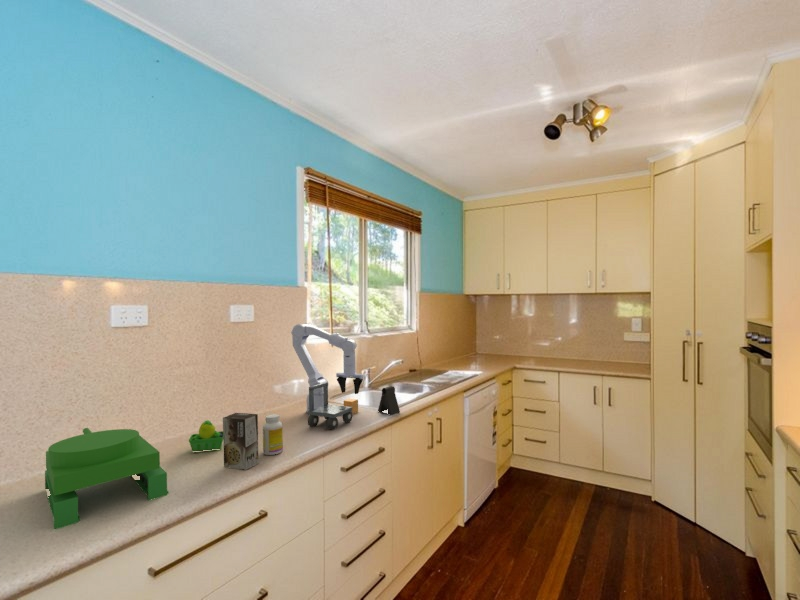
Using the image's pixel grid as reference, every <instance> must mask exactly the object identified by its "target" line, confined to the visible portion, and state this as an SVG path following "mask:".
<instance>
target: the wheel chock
mask: <svg viewBox="0 0 800 600" xmlns="http://www.w3.org/2000/svg"><path fill="white" fill-rule="evenodd" d="M343 406H348V407H352V411H351V412H352V415H354V414H356V413H359V399H355V398H347V399H345V400H343Z"/></svg>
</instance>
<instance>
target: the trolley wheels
mask: <svg viewBox="0 0 800 600" xmlns="http://www.w3.org/2000/svg"><path fill="white" fill-rule="evenodd" d="M353 415H354V414H352V412H351V411H350V412H348V413H346V414H343V415H341V417H342V418H341V419H342V421H343V423H348V422H349V423H351V422H350V421H352V419H353ZM323 418H324V419H325V420H326V428H327V429H328V430H332V431H333V430H336V429H337V428H338V424H339V420H338V417H336V418H330V417H323ZM319 422H320V416H315V415H308V419H307V425H308V426H309V427H312V428H313V427H317V426H318V425H319Z"/></svg>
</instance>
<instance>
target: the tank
mask: <svg viewBox="0 0 800 600" xmlns="http://www.w3.org/2000/svg"><path fill="white" fill-rule="evenodd" d="M82 433H83V434H79V435H76V436H72V437H68V438H66V439H62V440H59V441H57V442H55V443H52V444H50V446H48V449H47V450H46V451H45V468H46V469H45V470H44V482H45V483H44V488H45V489H49V491H50V494H51V495H50V496H48V497H49V498H47V500H49V501H48V504H49V503H50V505H49V507H51V508H50V511H51V510H52V511H51V514H52V517H53V530H54V529H55V530H58V529H60V528H64V527H68V526H71V525H73V524H77V523H79V521H81V516H80V514H79V497H78V493H77V492H76V491H77V490H81V489H86V488H89V487H93V486H97V485H102V484H105V483H108V482H112V481H115V480H121V479H124V478H126V477H127V478H128V477H131V476H132V475H135V474H136V475H137V476H140V480H135V481H136V482H137V483H138V484H139V485H138V484H137V483H136V482H135V481H134V482H135V483H136V484H137V485H138V486H140V487H141V488H142V489H143V490H142V489H141V488H140V487H139V488H140V489H141V490H142V492H143V493H144V494H145V495H146V494H147V495H148V496H147V495H146V496H147V500H148V501H152V500H155V499H158V498H162V497H164V496H168V494H169V491H168V473H167V471H166V470H164V468H162V467H161V466H160V463H161V462H160V458H161V457H160V453H161V452H160V451H159V450H158V449H156V448H155V446H153V445H152V444H151V443H149V442H148V441H147V440H146V439H144V437H142V436H141V435H140V432H139V431H138V430H136V429H127V428H121V429H120V428H119V429H108V430H107V429H106V430H99V431H94V432H92V431H91V429H90V428H88V427H84V428H83V429H82ZM45 489H44V490H45ZM154 498H155V499H154ZM151 499H152V500H151Z"/></svg>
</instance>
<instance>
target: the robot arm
mask: <svg viewBox="0 0 800 600" xmlns="http://www.w3.org/2000/svg"><path fill="white" fill-rule="evenodd" d="M290 333H291V335H292V337H291V338H292V341H291V343H292V347H293V349H294V351H295V353H296V355H297V357H298V360H299V361H300V363H301V365H302V368H303V369H304V370H305V373H306V375H307V376H308V381H307V382H308V385H309V387H310V386H314V385H317V384H321V383H324V382H328V383H329V381H328V380H327V379H326V378H325V377H324V375H323V374H322V373H320V371H319V370H318V368H317V365H316V364H315V362H314V360H313V358H312V357H311V354H310V352H309V350H308V348H307V347H306V344H305V343H306V341H307V339H308V338H309V336H312V335H313V336H315V337H319V338H321V339H324V340H327V341H328V343H329V345H331V346H334V347H336V348H338V349H341V350H342V351H343V356H342V357H343V372H336V373H335V375H336V376H335V377H336V382H337V383H338V385H339V388H340V390H341V393H343V394H345V393H346V390H347V389H346V388H347V386H346V383H347V382H346V381H347V379H352V382H353V386H354V394H355V395H358V394H359V391H360V387H361V385H362V382H363V380H364V377H365V376H364V374H362V373H357V372H356V371H357V369H356V348H357V345H358V344H357V342H356V341H355V340H354V339H353V338H349V337H347V336H345V337H344V336H343V335H340V333H339V332H336V333H335V332H334V333H330V332H327V331H325V330H323V329H321V328H319V327H318V326H317V327H316V326H315V325H314V324H313V325H312V324H309V323H302V324H300V323H298V324H295V325H294V326H293V328H292V330H291V332H290ZM323 405H324V390H323V387H321V388H318V389H315V390H314V409H315V408H317V407H320V406H323ZM308 411H309V393H308V394H307V396H306V410H305V413H308Z"/></svg>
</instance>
